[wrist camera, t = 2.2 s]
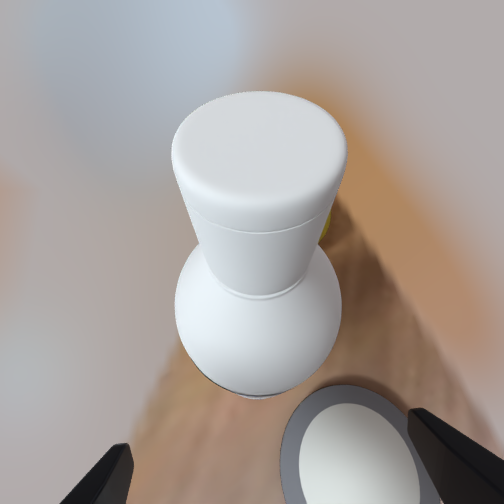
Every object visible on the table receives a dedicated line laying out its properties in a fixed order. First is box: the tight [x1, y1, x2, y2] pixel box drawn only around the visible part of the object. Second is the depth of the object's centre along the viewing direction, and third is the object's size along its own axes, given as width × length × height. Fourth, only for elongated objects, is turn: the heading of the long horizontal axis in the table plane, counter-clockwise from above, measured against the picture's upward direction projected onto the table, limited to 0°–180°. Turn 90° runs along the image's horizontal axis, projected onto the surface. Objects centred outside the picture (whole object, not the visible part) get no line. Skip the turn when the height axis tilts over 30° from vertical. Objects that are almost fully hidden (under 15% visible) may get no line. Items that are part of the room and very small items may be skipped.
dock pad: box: [280, 385, 440, 504], centre depth 17 cm, size 10×10×1 cm
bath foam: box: [171, 91, 348, 399], centre depth 13 cm, size 7×7×20 cm
